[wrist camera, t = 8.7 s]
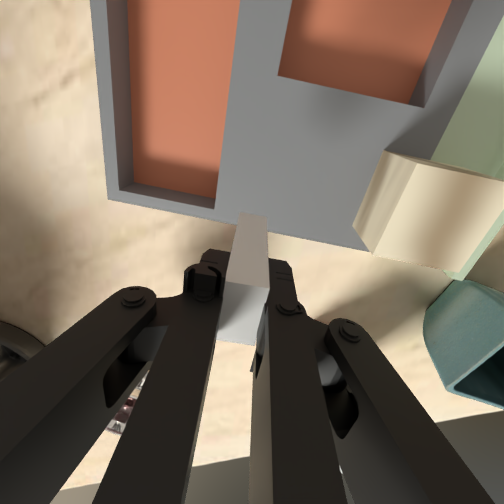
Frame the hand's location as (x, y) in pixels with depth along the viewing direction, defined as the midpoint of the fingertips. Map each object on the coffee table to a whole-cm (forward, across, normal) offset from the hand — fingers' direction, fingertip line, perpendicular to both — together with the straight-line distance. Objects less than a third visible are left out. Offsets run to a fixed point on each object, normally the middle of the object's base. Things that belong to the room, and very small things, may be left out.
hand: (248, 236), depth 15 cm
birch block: (+7, -12, -2) cm, 14 cm away
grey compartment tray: (+10, -3, -8) cm, 13 cm away
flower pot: (+10, -24, +8) cm, 27 cm away
